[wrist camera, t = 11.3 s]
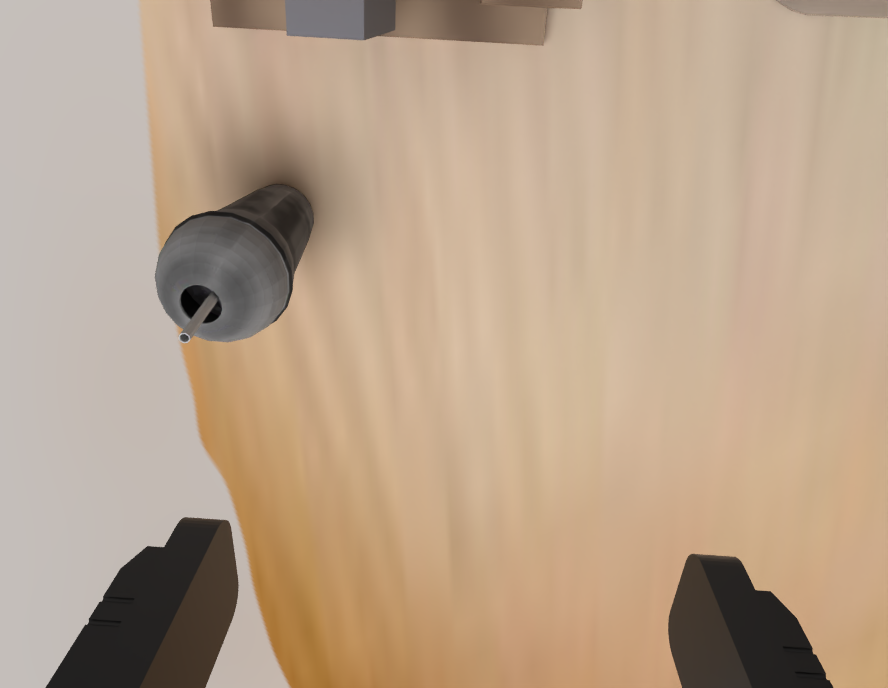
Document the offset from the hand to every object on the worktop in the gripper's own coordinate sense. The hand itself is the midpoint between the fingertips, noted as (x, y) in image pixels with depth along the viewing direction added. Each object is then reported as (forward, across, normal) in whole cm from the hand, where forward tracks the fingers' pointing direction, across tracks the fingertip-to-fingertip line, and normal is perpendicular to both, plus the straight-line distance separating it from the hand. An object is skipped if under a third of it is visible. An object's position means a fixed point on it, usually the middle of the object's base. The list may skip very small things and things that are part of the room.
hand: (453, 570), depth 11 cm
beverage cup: (+36, +13, +5) cm, 39 cm away
